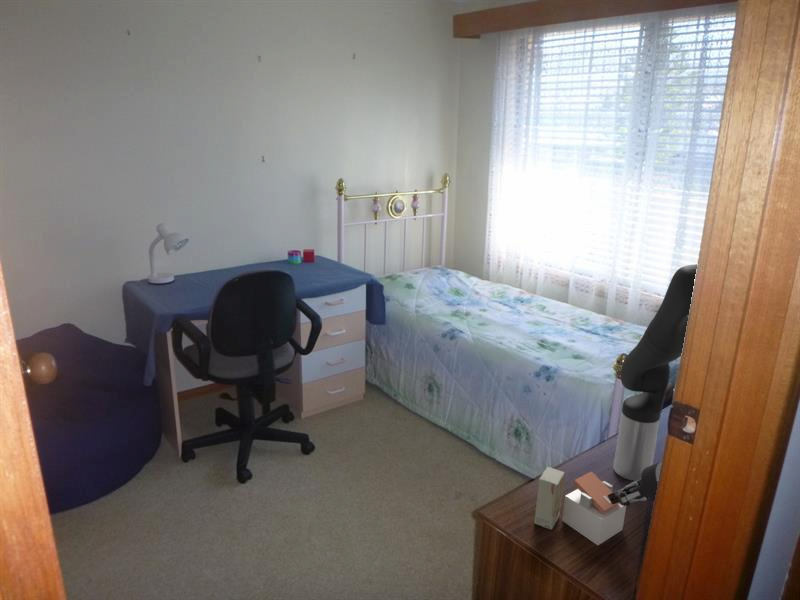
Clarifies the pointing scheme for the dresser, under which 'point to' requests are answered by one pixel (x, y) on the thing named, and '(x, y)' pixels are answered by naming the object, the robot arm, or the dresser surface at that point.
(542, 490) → the skincare box
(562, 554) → the dresser surface
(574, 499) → the switch box
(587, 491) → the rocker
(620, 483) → the dresser surface
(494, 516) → the dresser surface
